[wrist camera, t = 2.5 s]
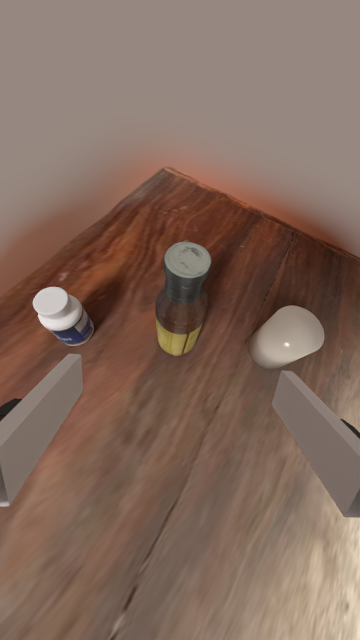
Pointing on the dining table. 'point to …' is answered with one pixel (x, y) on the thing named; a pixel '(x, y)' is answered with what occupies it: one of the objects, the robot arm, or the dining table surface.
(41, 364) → the dining table surface
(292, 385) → the robot arm
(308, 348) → the white rounded cylinder
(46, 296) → the pill bottle
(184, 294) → the sauce bottle
